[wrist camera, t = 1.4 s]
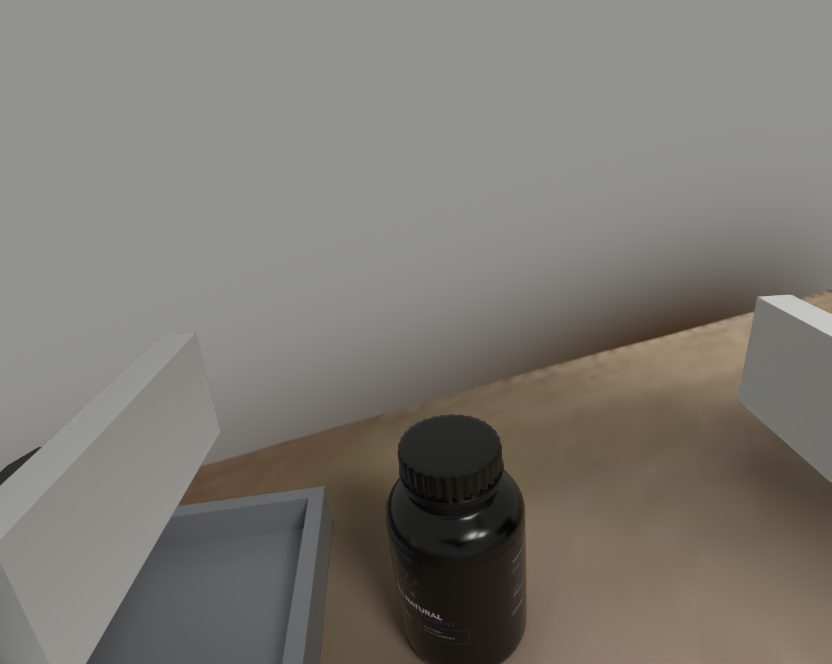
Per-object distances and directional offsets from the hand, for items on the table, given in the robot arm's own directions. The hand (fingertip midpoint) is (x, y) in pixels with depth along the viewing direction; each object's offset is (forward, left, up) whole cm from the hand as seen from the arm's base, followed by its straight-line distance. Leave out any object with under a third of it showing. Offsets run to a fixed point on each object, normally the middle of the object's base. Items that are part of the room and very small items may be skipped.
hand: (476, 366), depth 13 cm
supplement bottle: (0, -9, -21) cm, 23 cm away
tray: (+15, -11, -21) cm, 28 cm away
